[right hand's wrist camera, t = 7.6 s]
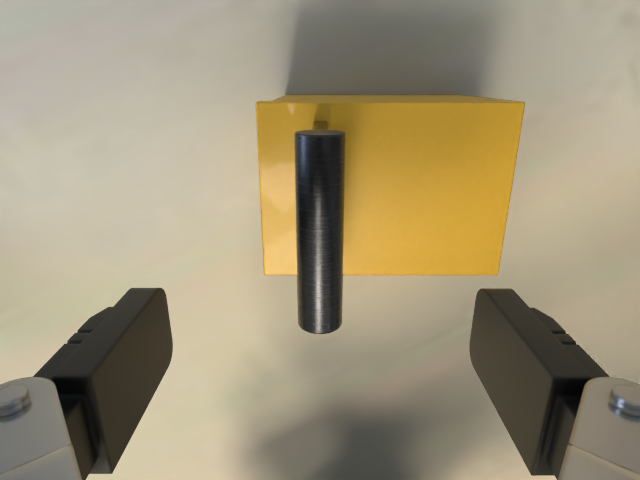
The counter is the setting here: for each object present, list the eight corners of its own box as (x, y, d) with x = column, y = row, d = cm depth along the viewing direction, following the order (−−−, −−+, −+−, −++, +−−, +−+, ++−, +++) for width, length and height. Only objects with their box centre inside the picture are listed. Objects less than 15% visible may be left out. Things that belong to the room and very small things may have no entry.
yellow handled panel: (266, 266, 26) (242, 350, 18) (258, 100, 23) (224, 112, 15) (490, 266, 26) (566, 350, 18) (514, 100, 23) (621, 112, 15)
